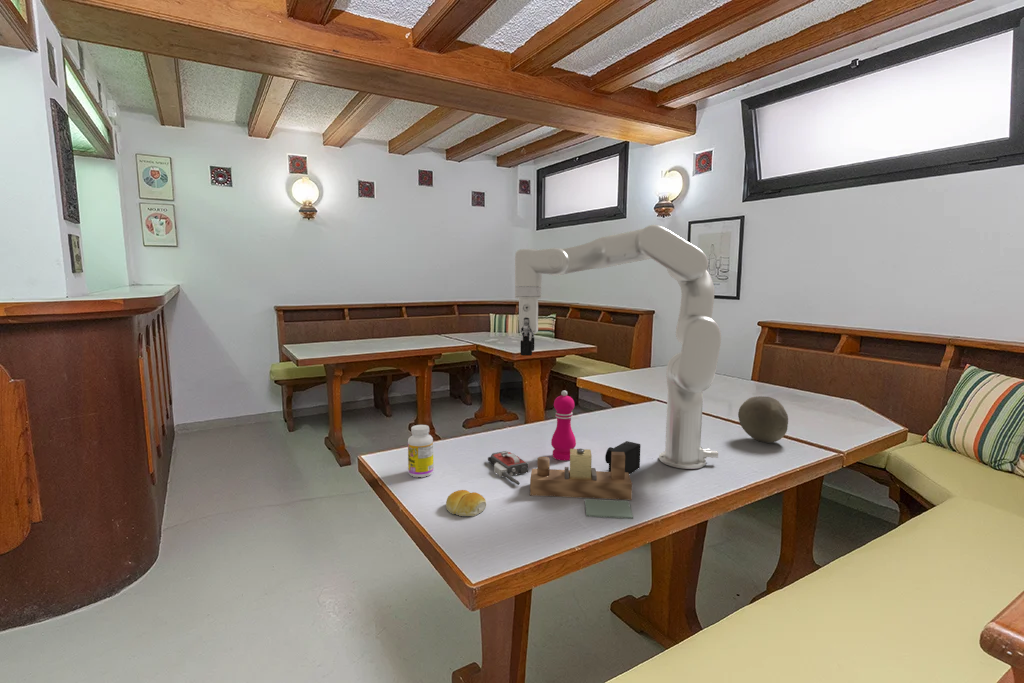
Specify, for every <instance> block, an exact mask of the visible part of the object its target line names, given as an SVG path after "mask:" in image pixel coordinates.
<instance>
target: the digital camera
mask: <svg viewBox="0 0 1024 683" xmlns="http://www.w3.org/2000/svg"><path fill="white" fill-rule="evenodd" d="M611 452H624V454H625V472H628V473H629V474H630V475H631V474H633V473H634V472H636V471H637V470H639V469H640V467H641V466H640V464H641V443H637V442H633V441H629V440H628V441H627V440H626V441H625V442H622V443H620V444H619V445H617V446H615V447H608V448H607V450H606V452H605V456H604V457H605V458H604V459H605V463H606V464H608V472H611ZM638 468H639V469H638ZM635 470H636V471H635ZM632 472H633V473H632Z"/></svg>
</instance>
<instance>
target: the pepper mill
mask: <svg viewBox="0 0 1024 683" xmlns="http://www.w3.org/2000/svg"><path fill="white" fill-rule="evenodd" d="M553 407H554V409H555V418H556V428H555V430H554V432H553V434H552V437H551V440H550V441H551V442H550V444H551V447H553V450H552V458H554V459H555V460H558V461H570V449H575V447H576V445H577V441H576V436H575V434H574V432H573V429H572V425H571V424H572V423H571V420H572V418H573V414H574V413H573V410H574V409H575V400H574V399H573V397H572V396H569V395H568V391H567V390H562V391H561V394H560V395H559V396H557V397H555V399H554V402H553Z"/></svg>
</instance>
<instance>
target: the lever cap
mask: <svg viewBox="0 0 1024 683" xmlns="http://www.w3.org/2000/svg"><path fill="white" fill-rule="evenodd" d="M592 457H593V456H592V450H591V449H587V448H586V449H585V448H574V449H570V460H569V470H570V479H583V480H591V468H592Z"/></svg>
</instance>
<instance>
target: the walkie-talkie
mask: <svg viewBox="0 0 1024 683" xmlns="http://www.w3.org/2000/svg"><path fill="white" fill-rule="evenodd" d="M487 461H488V462H489V463H490V464H491V465H492V464H493V465H492V466H493V467H494V469H493V470H494V473H495V474H496V473H497V474H498V475H497V474H496V475H497V476H498V477H499V476H500V477H499V478H506V479H508V480H509V481H510V482H512V483H514V484H515V485H517V486H519V485H520V481H519V480H517V479H516V478H514V476H515V475H516V474H517V475H521V473H522V475H525V474H526V472H527V473H529V462H527V461H525V460H523V459H522V458H520V456H518V455H516V454H515V453H512V452H511V451H509V450H508V451H507V450H503V451H499V452H493V453H491V455H490V456H488V457H487ZM502 476H504V477H502Z"/></svg>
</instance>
